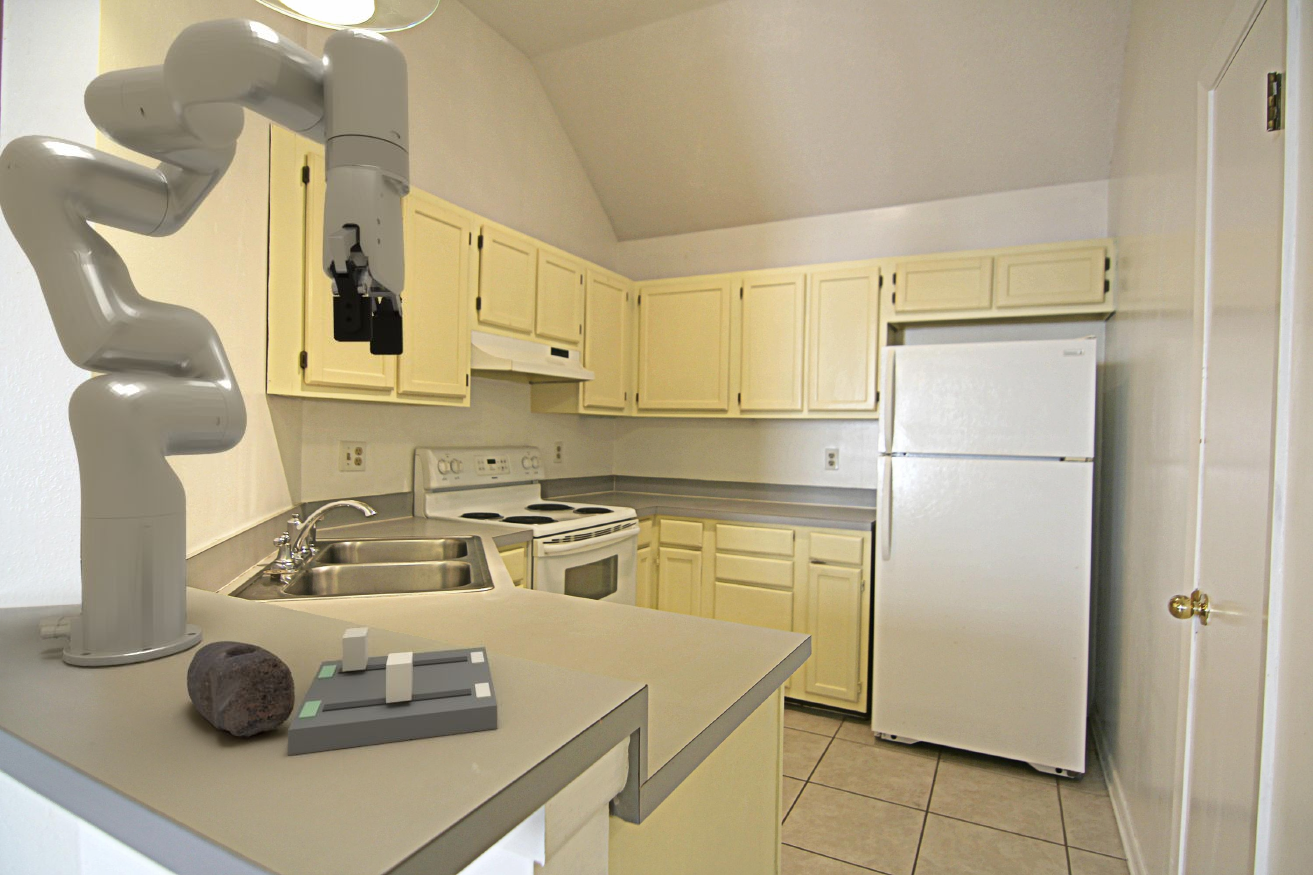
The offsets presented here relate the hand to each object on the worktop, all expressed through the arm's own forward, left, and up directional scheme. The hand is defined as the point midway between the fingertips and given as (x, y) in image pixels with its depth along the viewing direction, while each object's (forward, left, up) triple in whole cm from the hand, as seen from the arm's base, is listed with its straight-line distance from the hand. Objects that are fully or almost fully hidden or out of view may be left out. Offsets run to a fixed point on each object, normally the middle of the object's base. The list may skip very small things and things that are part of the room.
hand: (371, 348), depth 65 cm
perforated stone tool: (-11, -3, -34) cm, 36 cm away
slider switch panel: (+3, -4, -33) cm, 34 cm away
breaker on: (-1, +1, -31) cm, 31 cm away
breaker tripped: (+3, -8, -31) cm, 32 cm away
